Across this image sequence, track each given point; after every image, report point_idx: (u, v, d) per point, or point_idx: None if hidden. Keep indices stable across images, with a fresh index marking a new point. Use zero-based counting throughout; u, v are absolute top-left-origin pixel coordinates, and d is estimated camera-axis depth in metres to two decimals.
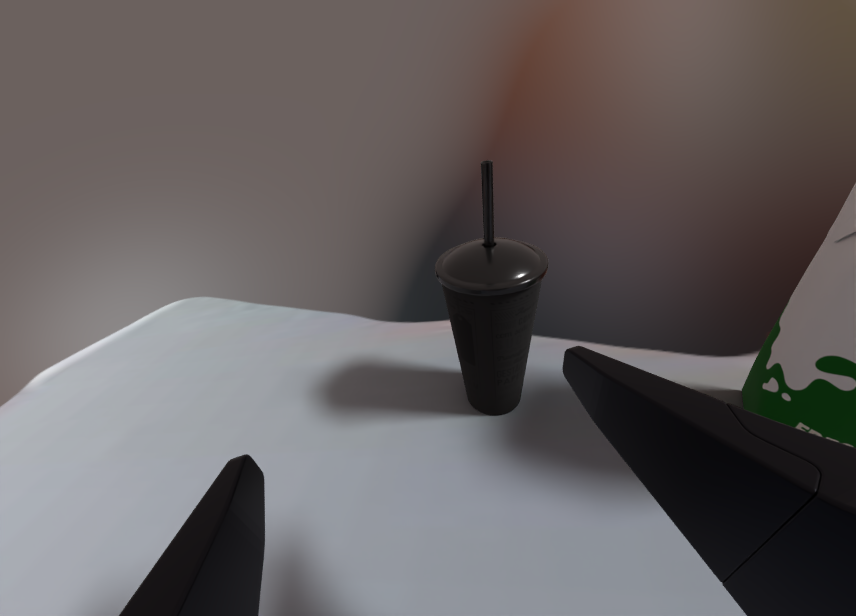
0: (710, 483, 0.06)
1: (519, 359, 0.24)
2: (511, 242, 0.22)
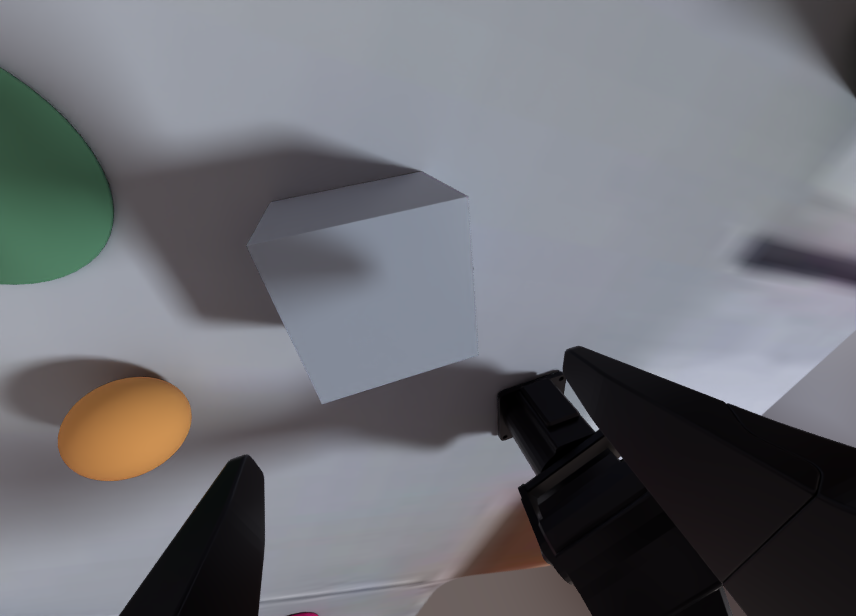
0: (710, 482, 0.06)
1: None
2: None
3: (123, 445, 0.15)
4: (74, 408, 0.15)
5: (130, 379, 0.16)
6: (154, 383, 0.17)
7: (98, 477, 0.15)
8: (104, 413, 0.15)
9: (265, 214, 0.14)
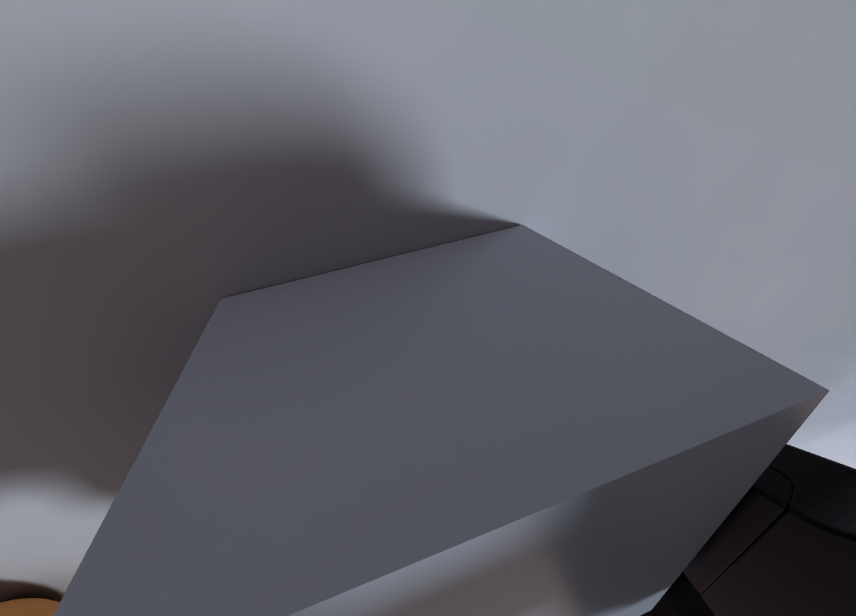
0: None
1: None
2: None
3: None
4: None
5: None
6: None
7: None
8: None
9: (190, 364, 0.05)
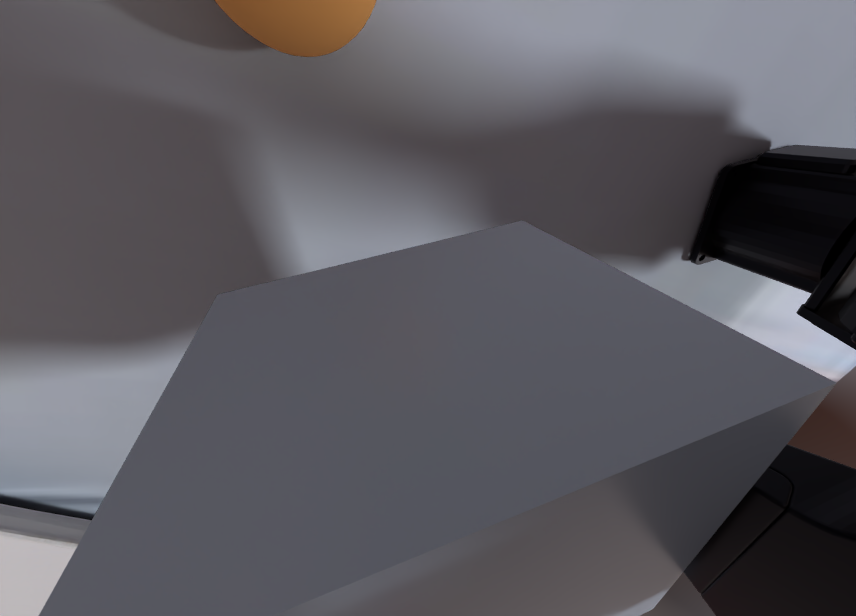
0: None
1: None
2: None
3: None
4: None
5: None
6: None
7: None
8: None
9: (186, 359, 0.05)
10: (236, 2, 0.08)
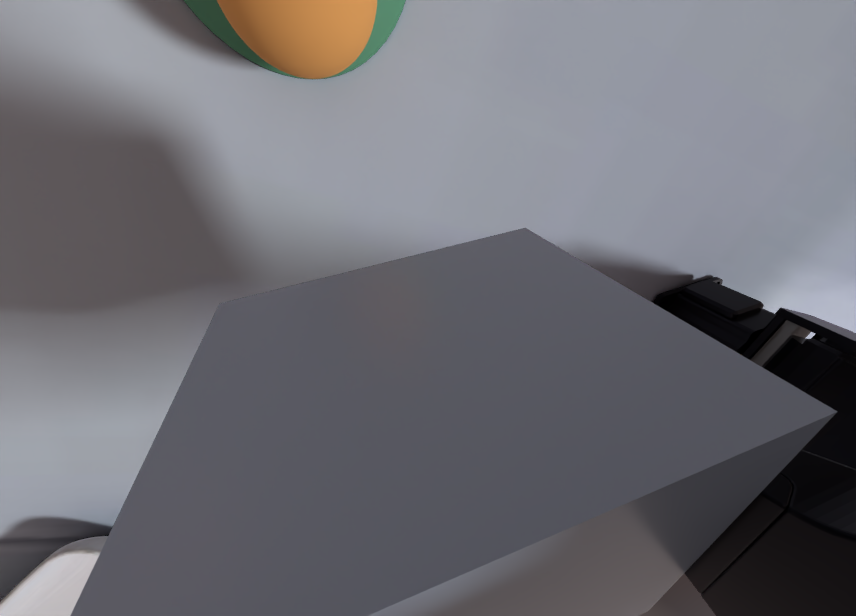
0: None
1: None
2: None
3: None
4: (291, 56, 0.10)
5: None
6: None
7: None
8: (342, 66, 0.11)
9: (190, 374, 0.05)
10: None
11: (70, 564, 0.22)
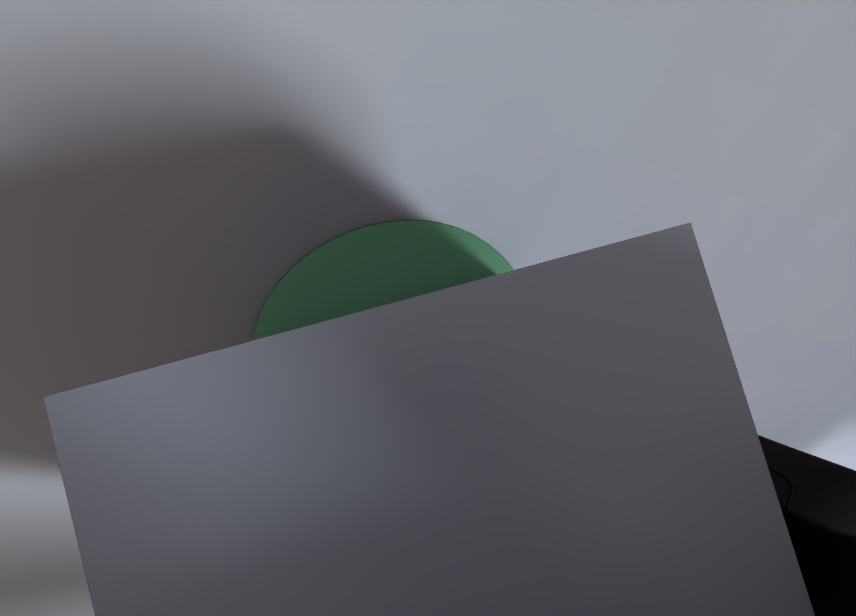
0: None
1: None
2: None
3: None
4: None
5: None
6: None
7: None
8: None
9: None
10: None
11: None
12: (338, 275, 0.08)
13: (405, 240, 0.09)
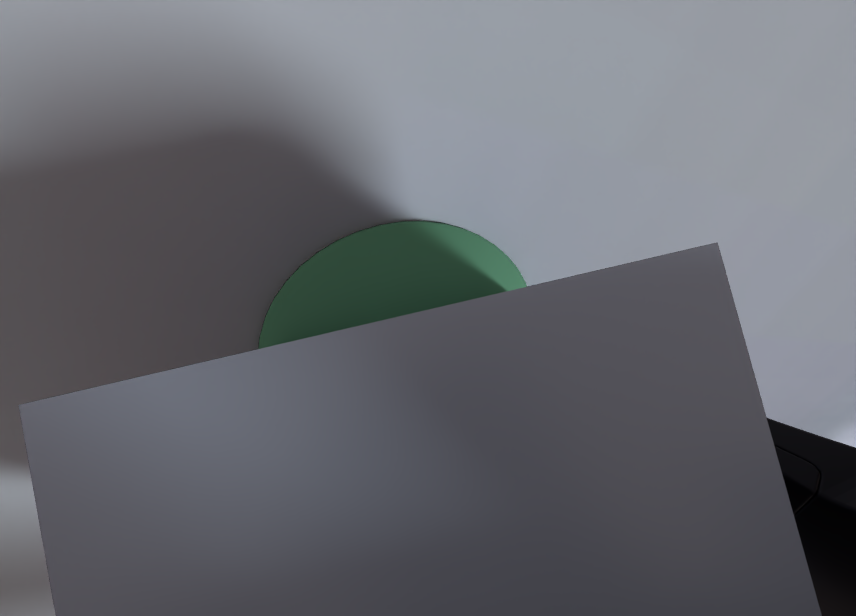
0: None
1: None
2: None
3: None
4: None
5: None
6: None
7: None
8: None
9: None
10: None
11: None
12: (344, 275, 0.09)
13: (411, 241, 0.09)
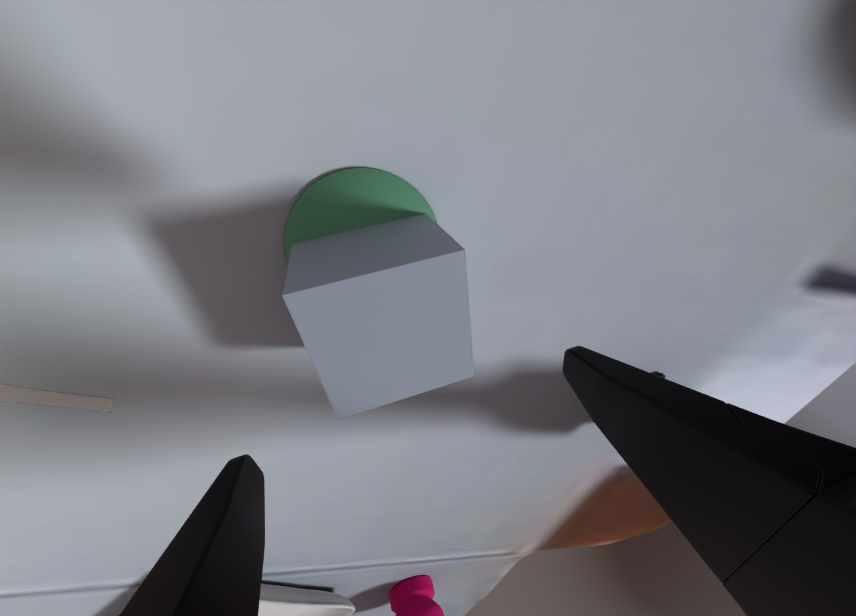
0: (709, 482, 0.06)
1: None
2: None
3: None
4: None
5: None
6: None
7: None
8: None
9: (291, 258, 0.16)
10: None
11: None
12: (329, 195, 0.17)
13: (362, 178, 0.17)
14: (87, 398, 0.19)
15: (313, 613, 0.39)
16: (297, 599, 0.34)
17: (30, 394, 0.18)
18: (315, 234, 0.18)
